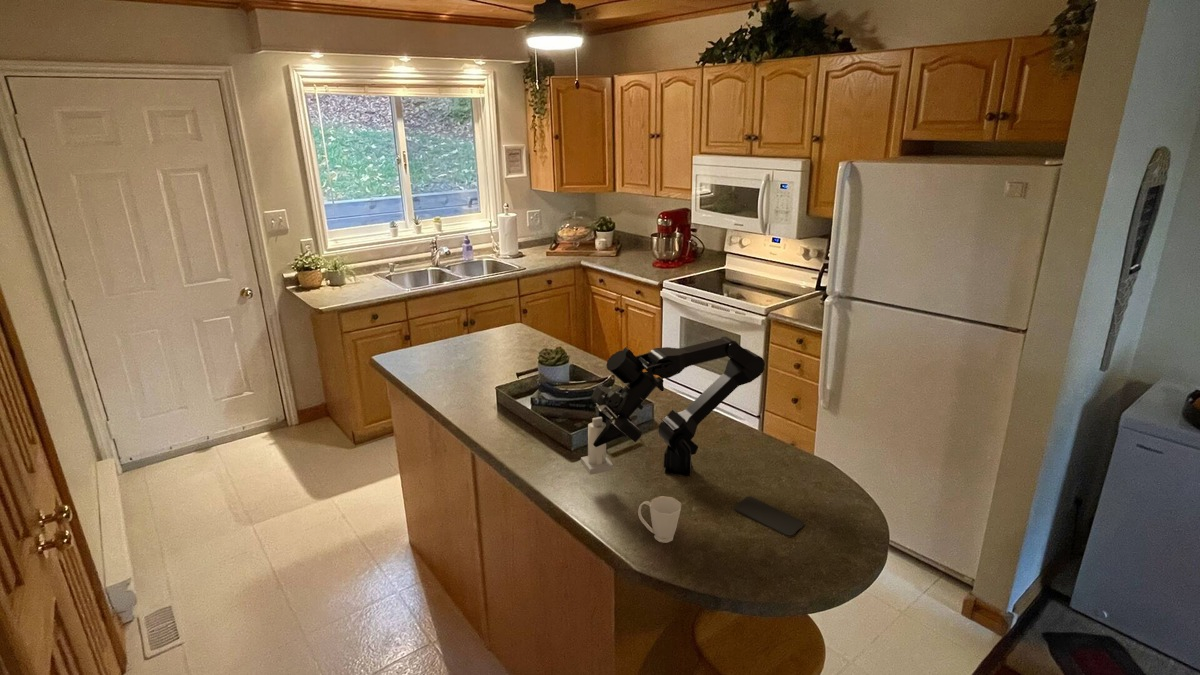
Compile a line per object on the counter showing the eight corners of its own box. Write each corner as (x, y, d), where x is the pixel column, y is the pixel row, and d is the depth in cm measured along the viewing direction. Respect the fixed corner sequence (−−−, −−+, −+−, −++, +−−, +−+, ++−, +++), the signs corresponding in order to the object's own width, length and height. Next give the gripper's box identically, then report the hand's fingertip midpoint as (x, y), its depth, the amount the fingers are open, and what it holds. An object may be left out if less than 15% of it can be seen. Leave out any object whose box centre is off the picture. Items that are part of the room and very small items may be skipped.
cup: (670, 551, 133) (672, 518, 130) (630, 534, 138) (631, 502, 135) (685, 534, 138) (687, 502, 135) (646, 518, 143) (647, 487, 141)
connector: (603, 458, 157) (604, 410, 153) (613, 470, 152) (614, 421, 147) (580, 462, 155) (580, 414, 151) (589, 474, 150) (590, 425, 145)
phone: (790, 537, 137) (731, 507, 147) (790, 540, 137) (731, 510, 147) (806, 522, 142) (748, 495, 152) (806, 525, 142) (748, 498, 152)
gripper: (598, 360, 155) (556, 408, 155) (630, 390, 139) (583, 443, 138) (626, 385, 161) (586, 431, 160) (660, 416, 144) (615, 467, 144)
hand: (591, 442), depth 151 cm, fingers closed on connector, 3 cm apart
